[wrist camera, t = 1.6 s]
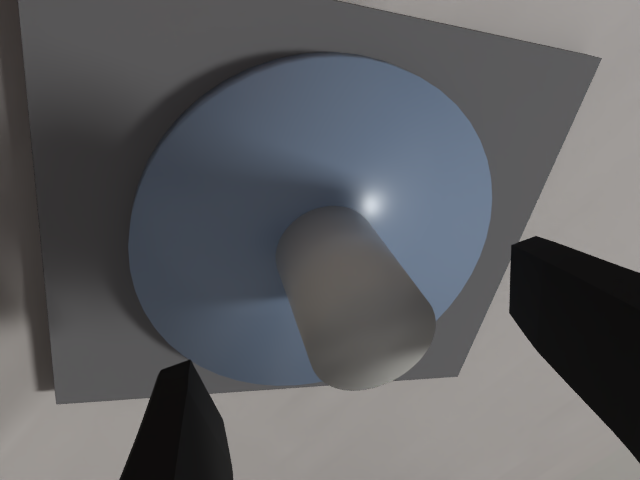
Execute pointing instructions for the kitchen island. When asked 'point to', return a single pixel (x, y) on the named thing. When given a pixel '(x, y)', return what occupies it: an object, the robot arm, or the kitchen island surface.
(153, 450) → the robot arm
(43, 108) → the mat
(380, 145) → the lid
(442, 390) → the kitchen island surface
